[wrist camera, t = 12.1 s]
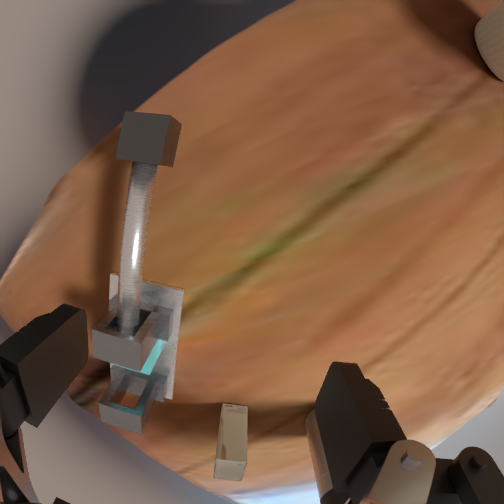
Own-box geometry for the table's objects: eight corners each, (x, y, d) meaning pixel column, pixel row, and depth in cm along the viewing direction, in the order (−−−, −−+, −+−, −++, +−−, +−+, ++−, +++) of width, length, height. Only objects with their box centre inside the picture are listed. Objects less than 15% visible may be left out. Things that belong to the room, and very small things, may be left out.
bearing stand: (184, 288, 40) (163, 325, 29) (173, 396, 44) (158, 443, 34) (112, 272, 39) (73, 300, 29) (112, 379, 44) (87, 420, 33)
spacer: (161, 331, 41) (150, 351, 35) (159, 354, 41) (149, 375, 36) (123, 322, 40) (108, 339, 35) (123, 344, 41) (109, 363, 36)
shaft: (141, 120, 30) (125, 111, 26) (181, 124, 31) (170, 115, 26) (117, 332, 37) (102, 351, 32) (151, 342, 37) (139, 362, 32)
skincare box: (222, 401, 45) (215, 457, 33) (248, 405, 45) (248, 460, 33) (218, 426, 46) (212, 479, 34) (242, 429, 46) (241, 482, 34)
